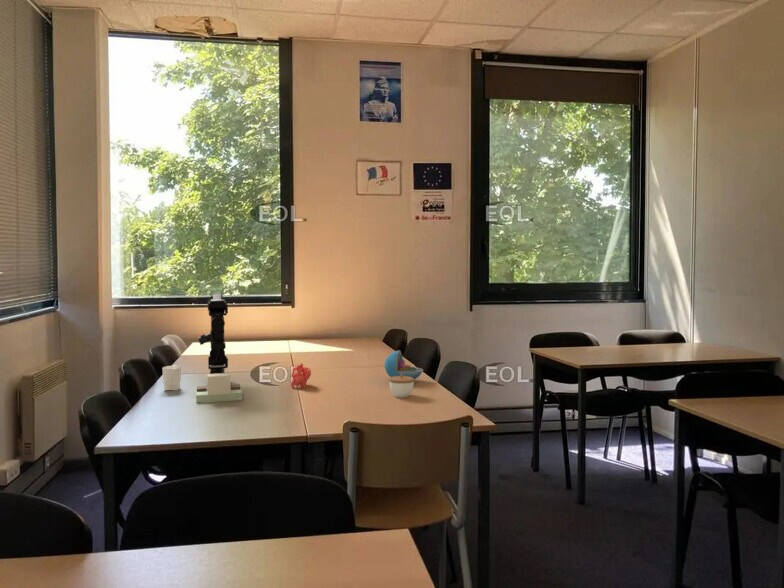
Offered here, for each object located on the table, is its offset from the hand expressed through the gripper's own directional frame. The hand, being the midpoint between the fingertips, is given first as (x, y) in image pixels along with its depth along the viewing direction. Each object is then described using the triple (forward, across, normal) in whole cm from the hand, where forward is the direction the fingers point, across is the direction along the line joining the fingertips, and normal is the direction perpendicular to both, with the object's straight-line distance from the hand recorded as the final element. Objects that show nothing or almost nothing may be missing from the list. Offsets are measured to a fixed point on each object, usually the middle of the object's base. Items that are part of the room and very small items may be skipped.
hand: (217, 361), depth 272 cm
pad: (+12, +23, 0) cm, 26 cm away
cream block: (+9, +23, 0) cm, 25 cm away
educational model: (+12, +7, +86) cm, 87 cm away
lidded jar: (+12, +36, +76) cm, 85 cm away
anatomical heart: (+12, +6, +37) cm, 39 cm away
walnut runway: (+12, +13, 0) cm, 18 cm away
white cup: (+12, -3, -20) cm, 23 cm away
